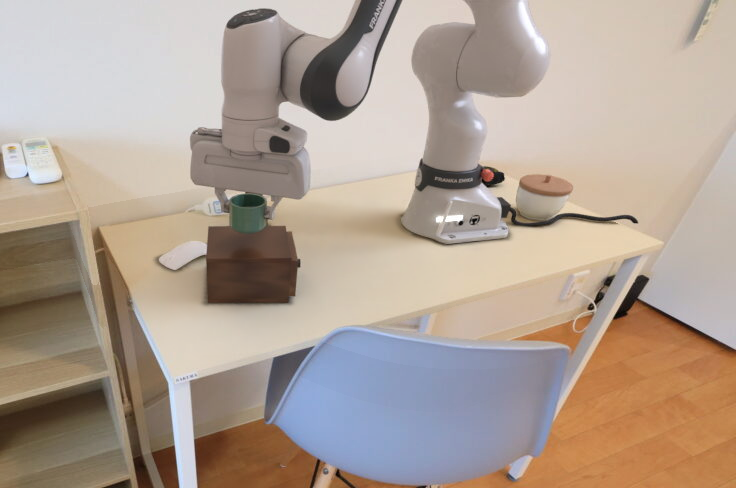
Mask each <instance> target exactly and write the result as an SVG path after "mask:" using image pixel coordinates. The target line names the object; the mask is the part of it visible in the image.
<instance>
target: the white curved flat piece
mask: <svg viewBox="0 0 736 488" xmlns="http://www.w3.org/2000/svg"><path fill="white" fill-rule="evenodd" d="M206 253H207V242H203V241H200V240H189V241H186V242H184V243H181V244H179V245H177V246H175V247H173V248H172V249H170V250H169V251H167V252H166V253H164V254H163V255H160V256H159V258H158V262H159V263H160V264H161V265H163V266H164V267H166V268H168V269H169V270H172V271H177V270H178V269H180V268H181V267H183V266H185V265H186V264H187V263H189V262H191V261H193V260H195V259H196V258H199V257H202V256H204V255H205V256H206Z"/></svg>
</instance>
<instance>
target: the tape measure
mask: <svg viewBox="0 0 736 488" xmlns="http://www.w3.org/2000/svg"><path fill="white" fill-rule="evenodd" d="M482 166H483V167H484V168H485V169H489V170H490V171H491V172H493V174H494V175H493V176H494V177H492V178H493V179H490V180H491V181H488V182H487V181H485V180H484V179H483V178H482V183H483V184H484V185H485V186H486V187H489V186H493V185H498V184H501V183H503V182H505V179H506V177H505V173H504V172H502V171H499V170H498V169H497V168H495V167H492V166H486V165H482Z"/></svg>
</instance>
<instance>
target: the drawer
mask: <svg viewBox="0 0 736 488" xmlns="http://www.w3.org/2000/svg"><path fill="white" fill-rule="evenodd" d="M287 236H288V241H289V246H290V251H291V256H292V263H291V277H290V290H289V297H296V291H297V280H298V279H297V278H298V269H299V268H301V264H302V262H301V258H298V254H297V249H296V244H295V240H294V235H293V230H292V231H287Z"/></svg>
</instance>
